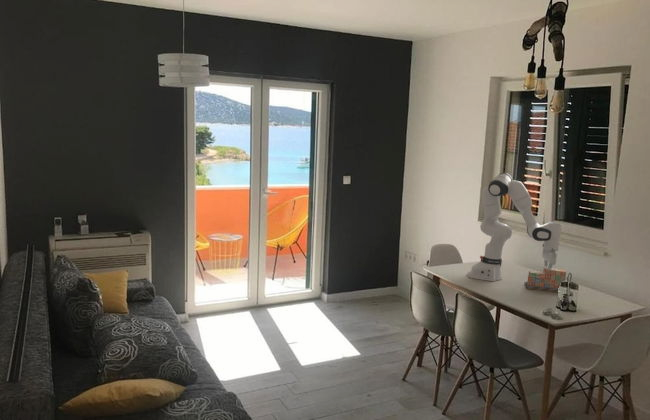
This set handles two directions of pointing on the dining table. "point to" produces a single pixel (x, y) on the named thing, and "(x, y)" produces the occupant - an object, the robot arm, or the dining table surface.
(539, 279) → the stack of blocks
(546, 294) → the dining table surface
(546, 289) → the grey flat slab
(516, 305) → the dining table surface
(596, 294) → the dining table surface
